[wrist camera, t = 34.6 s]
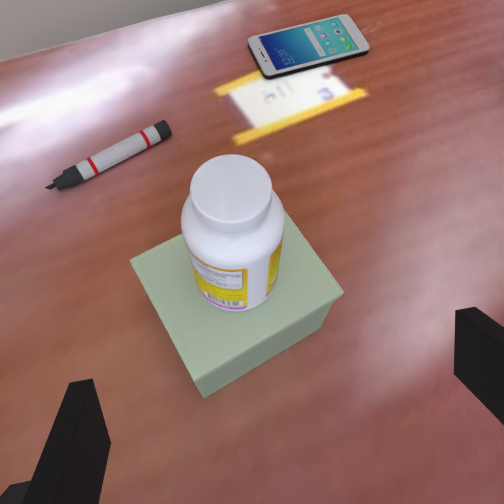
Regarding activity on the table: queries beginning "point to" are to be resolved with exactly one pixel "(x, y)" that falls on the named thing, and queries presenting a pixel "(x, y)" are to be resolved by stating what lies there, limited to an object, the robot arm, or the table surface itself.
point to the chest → (262, 352)
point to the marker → (112, 155)
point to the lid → (231, 322)
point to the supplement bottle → (233, 232)
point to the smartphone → (307, 46)
